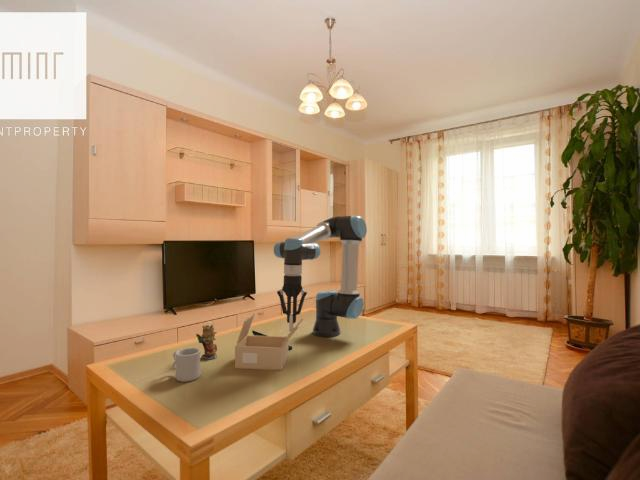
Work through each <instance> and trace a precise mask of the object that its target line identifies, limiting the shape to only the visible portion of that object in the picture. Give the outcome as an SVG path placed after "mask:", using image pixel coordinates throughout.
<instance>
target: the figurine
mask: <svg viewBox="0 0 640 480" xmlns="http://www.w3.org/2000/svg"><path fill="white" fill-rule="evenodd" d="M202 328H203V329H202V334H198V333H196V337H197V340H198V343H199V344H201V345H202V346H203V350H204V354H203V353H202V355H201V356H200V359H201V360H207V361H208V360H214V359H215V360H216V358H217V357H218V354H217V352H218V346H217V344H216V343H214V341H216V340H217V338H215V335H216V334H217V333H218V332H217V331H215V327H214V324H206V325H202Z"/></svg>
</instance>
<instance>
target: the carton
mask: <svg viewBox="0 0 640 480" xmlns="http://www.w3.org/2000/svg"><path fill="white" fill-rule="evenodd" d="M286 337H287V336H279V335H278V336H276V335H275V336H274V335H267V336H254V335H250V334H247V336H245V337H244V338H243V339H242V340H241V341H240V342H239V343H238V344H237V343H236V345H235V346H234V369H243V370H246V369H247V370H261V371H262V370H263V371H265V370H266V371H283V369H284V367H285V364H286V363H287V360H288V358H289V351H288V345H289V340H288V341H287V342H286V343H285V344H284V345H283V346H282V344H283V342H284V340H285V339H286ZM283 366H284V367H283ZM282 368H283V369H282Z"/></svg>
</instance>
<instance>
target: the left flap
mask: <svg viewBox="0 0 640 480" xmlns="http://www.w3.org/2000/svg"><path fill="white" fill-rule="evenodd" d="M255 314H256V313H252V314H251V315H250V316H249V317H247V318H246V319H245V320H244V322H243V325H242V327H241V330H240V333H239V335H238V337H237V341H236V345H237V344H238V343H239V342H240V341H241V340H242V339H243V338H244V337H245V336H247V335H249V332H250V330H251V329H250V328H251V326H252V323H253V321H254V317H255Z"/></svg>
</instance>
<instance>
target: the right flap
mask: <svg viewBox="0 0 640 480" xmlns="http://www.w3.org/2000/svg"><path fill="white" fill-rule="evenodd" d="M303 320H304V319H303V318H301V319H300V320H299V321H298V323H297V324H296V325H295V326H293V331H289V333H288V334H287V336H285V337H286V339H285V340H284V342H283V344H282V346H283V345H284V344H285V343H286V342H287V341H288V342H289V340H290V338H291V337H292V336H293V335H294V334H295V333H296V331H297V330H298V329H299V327H300V325H301V324H302V322H303Z"/></svg>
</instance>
